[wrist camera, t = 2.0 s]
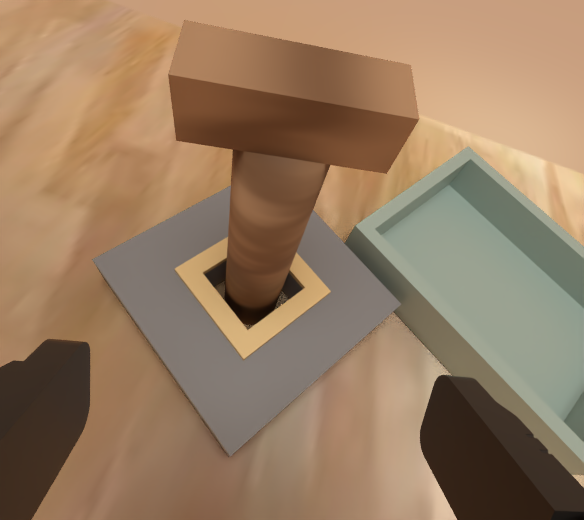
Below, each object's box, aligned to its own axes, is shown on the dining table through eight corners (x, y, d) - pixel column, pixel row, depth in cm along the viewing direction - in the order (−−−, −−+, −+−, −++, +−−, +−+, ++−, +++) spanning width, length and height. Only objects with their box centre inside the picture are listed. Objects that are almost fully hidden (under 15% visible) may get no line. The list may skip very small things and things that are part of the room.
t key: (195, 319, 26) (163, 89, 10) (203, 271, 28) (187, 8, 12) (298, 329, 27) (421, 134, 11) (299, 282, 29) (409, 53, 12)
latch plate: (104, 279, 26) (90, 256, 23) (265, 188, 32) (271, 160, 29) (228, 456, 23) (230, 456, 20) (384, 318, 28) (404, 302, 25)
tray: (339, 252, 30) (355, 225, 27) (443, 176, 36) (468, 146, 33) (543, 473, 25) (596, 475, 22) (626, 344, 31) (678, 329, 28)
